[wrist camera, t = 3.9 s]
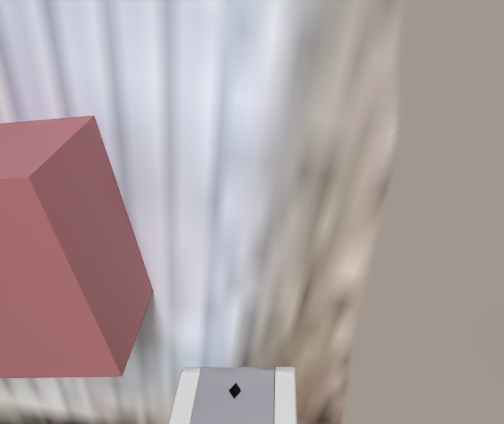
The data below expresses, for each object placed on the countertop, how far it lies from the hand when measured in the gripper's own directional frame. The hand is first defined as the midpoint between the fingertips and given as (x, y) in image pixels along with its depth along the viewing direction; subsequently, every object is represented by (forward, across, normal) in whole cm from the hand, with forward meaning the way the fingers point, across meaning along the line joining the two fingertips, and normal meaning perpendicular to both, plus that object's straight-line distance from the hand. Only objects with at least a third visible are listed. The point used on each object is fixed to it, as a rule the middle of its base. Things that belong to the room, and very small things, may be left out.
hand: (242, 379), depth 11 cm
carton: (+8, +12, 0) cm, 14 cm away
